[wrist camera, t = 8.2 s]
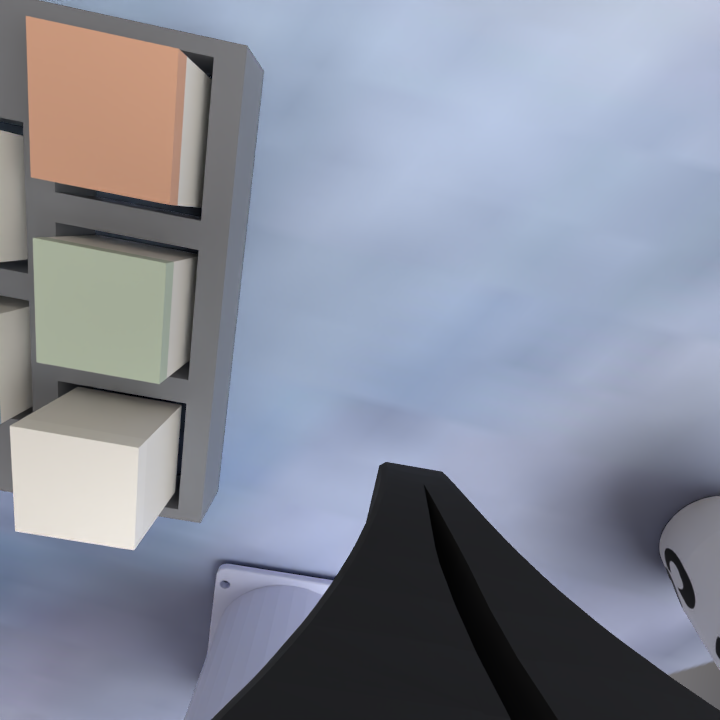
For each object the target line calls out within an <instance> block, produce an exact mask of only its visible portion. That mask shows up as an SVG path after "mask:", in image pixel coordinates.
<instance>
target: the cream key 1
mask: <svg viewBox="0 0 720 720" xmlns="http://www.w3.org/2000/svg"><path fill="white" fill-rule="evenodd" d="M26 259H28V255H27V226H26V197H25V168H24V139H23V136H22V135H18V134H14V133H10V132H6V131H2V130H0V262H7V261H17V260H26Z"/></svg>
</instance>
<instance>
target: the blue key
mask: <svg viewBox="0 0 720 720" xmlns="http://www.w3.org/2000/svg"><path fill="white" fill-rule="evenodd" d="M32 406H33V399H32V370H31V341H30V312H29V301H28V300H22V299H17V298H11V297H6V296H0V424H1V423H3V422H5V421H7V420H9V419H10V418H12V417H14V416H16V415H18V414H19V413H21V412H23V411H25V410H27V409H28V408H30V407H32Z"/></svg>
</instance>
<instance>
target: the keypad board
mask: <svg viewBox="0 0 720 720" xmlns="http://www.w3.org/2000/svg"><path fill="white" fill-rule="evenodd" d="M26 16H30V17H34V18H39V19H44V20H48V21H53V22H58V23H62V24H67V25H71V26H76V27H81V28H85V29H90V30H95V31H99V32H104V33H108V34H113V35H118V36H122V37H127V38H132V39H136V40H141V41H145V42H150V43H155V44H159V45H164V46H169V47H173V48H178V49H180V50H181V51H182V52H183V53H184V54H185V55H186V56H187V57H188V58H189V59H190V60H191V61H192V62H193V63H194V64H196V65H197V66H198V67H199V68H200V69H201V70H202V71H203V72H204V73H205V74H206V75H211V76H212V87H211V100H210V113H209V125H208V138H207V151H206V163H205V176H204V189H203V201H202V214H201V217H198V216H193V215H188V214H183V213H178V212H173V211H168V210H163V209H158V208H153V207H148V206H143V205H138V204H133V203H128V202H122V201H117V200H112V199H107V198H102V197H97V196H96V190H92V189H87V188H82V187H77V186H72V185H67V184H62V183H57V182H52V181H47V180H42V179H37V178H32V177H31V169H30V137H29V105H28V73H27V40H26ZM263 75H264V70H263V69H262V67H261V66H260V64H259V63H258V61H257V60H256V58H255V57H254V55H253V54H252V52H251V51H250V49H249V48H248V46H246V45H241V44H237V43H232V42H227V41H223V40H218V39H214V38H209V37H205V36H200V35H195V34H191V33H186V32H182V31H177V30H172V29H168V28H163V27H159V26H154V25H149V24H145V23H140V22H136V21H131V20H127V19H122V18H117V17H113V16H108V15H104V14H99V13H94V12H90V11H85V10H81V9H76V8H72V7H67V6H62V5H58V4H53V3H49V2H44V1H39V0H0V122H4V123H9V124H14V125H19V126H23V139H24V168H25V197H26V226H27V255H28V259H26V260H17V261H7V262H0V296H6V297H11V298H17V299H22V300H28V301H29V312H30V341H31V370H32V399H33V406H32V407H30V408H28V409H27V410H25V411H23V412H21V413H19V414H18V415H16V416H14V417H12V418H10V419H9V420H7V421H5V422H3V423H1V424H0V490H2V491H8V492H13V480H12V461H11V442H10V425H12V424H14V423H16V422H17V421H19V420H21V419H22V418H24V417H26V416H28V415H29V414H31V413H33V412H35V411H36V410H38V409H40V408H42V407H43V406H45V405H47V404H49V403H50V402H52V401H54V400H56V399H57V398H59V397H61V396H63V395H64V394H66V393H68V392H69V391H71V390H73V389H75V388H76V387H83V388H88V389H94V387H95V388H101V389H107V390H112V391H118V392H124V393H129V394H135V395H141V396H146V397H152V398H158V399H163V400H169V401H175V402H180V403H186V417H185V429H184V442H183V455H182V467H181V475H176V487H175V493H174V494H173V496H172V497H171V498H170V500H169V501H168V503H167V504H166V506H165V507H164V508H163V510H162V511H161V513H160V514H159V516H161V517H167V518H173V519H179V520H185V521H192V522H198V523H201V521H202V519H203V518H204V516H205V514H206V512H207V510H208V508H209V506H210V505H211V503H212V501H213V499H214V497H215V495H216V494H217V492H218V487H219V478H220V468H221V459H222V450H223V441H224V432H225V423H226V413H227V404H228V395H229V386H230V377H231V368H232V359H233V349H234V340H235V331H236V322H237V313H238V304H239V295H240V285H241V276H242V267H243V258H244V249H245V240H246V231H247V221H248V212H249V203H250V194H251V185H252V176H253V166H254V157H255V148H256V139H257V130H258V121H259V112H260V102H261V93H262V84H263ZM95 230H98V231H103V232H108V233H113V234H119V235H124V236H129V237H134V238H139V239H144V240H149V241H155V242H160V243H165V244H170V245H175V246H180V247H186V248H191V249H196V250H199V252H198V265H197V277H196V290H195V303H194V315H193V328H192V341H191V353H190V360H189V361H188V362H187V363H185V364H184V365H183V366H182V367H180V368H179V369H178V370H177V371H175V372H174V373H173V374H171V375H170V376H169V377H168V378H166V379H165V380H164V381H163V382H161V383H160V384H156V383H150V382H144V381H139V380H133V379H128V378H122V377H116V376H111V375H105V374H100V373H94V372H88V371H83V370H77V369H71V368H66V367H60V366H55V365H49V364H43V363H38V362H36V329H35V297H34V265H33V238H38V237H60V236H82V235H95Z"/></svg>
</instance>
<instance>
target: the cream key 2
mask: <svg viewBox="0 0 720 720" xmlns="http://www.w3.org/2000/svg"><path fill="white" fill-rule="evenodd" d="M181 407H182V405H179V404H173V403H168V402H162V401H156V400H151V399H145V398H139V397H134V396H128V395H122V394H117V393H111V392H105V391H100V390H94V389H88V388H83V387H76V388H75V389H73V390H71V391H69V392H68V393H66V394H64V395H63V396H61V397H59V398H57V399H56V400H54V401H52V402H50V403H49V404H47V405H45V406H43V407H42V408H40V409H38V410H36V411H35V412H33V413H31V414H29V415H28V416H26V417H24V418H22V419H21V420H19V421H17V422H16V423H14V424H12V425H10V442H11V461H12V480H13V499H14V518H15V531H16V532H22V533H29V534H35V535H41V536H47V537H54V538H60V539H66V540H73V541H79V542H85V543H91V544H98V545H104V546H110V547H117V548H123V549H129V550H135V549H136V547H137V546H138V544H139V543H140V541H141V540H142V538H143V537H144V536H145V534H146V533H147V531H148V530H149V528H150V527H151V526H152V524H153V523H154V521H155V520H156V518H157V517H158V516H159V514H160V513H161V511H162V510H163V508H164V507H165V506H166V504H167V503H168V501H169V500H170V498H171V497H172V496H173V494H174V493H175V487H176V474H177V460H178V447H179V434H180V421H181Z"/></svg>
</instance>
